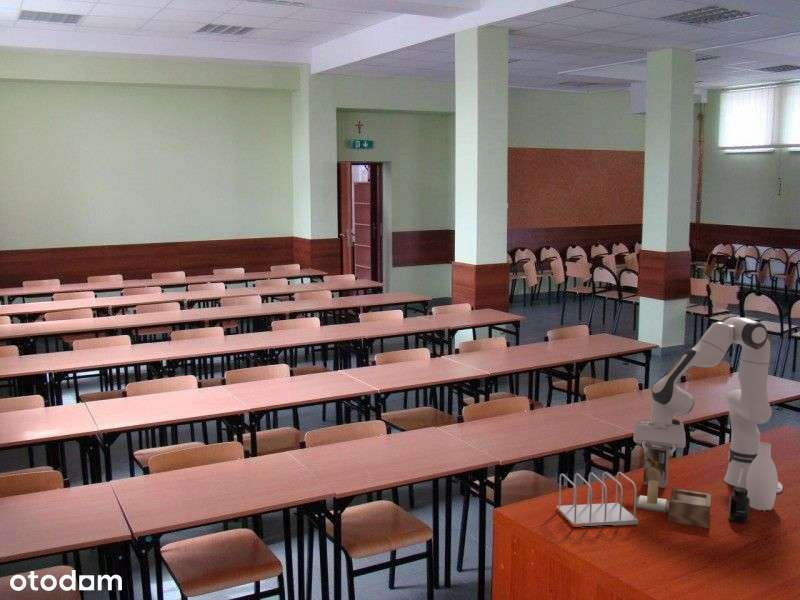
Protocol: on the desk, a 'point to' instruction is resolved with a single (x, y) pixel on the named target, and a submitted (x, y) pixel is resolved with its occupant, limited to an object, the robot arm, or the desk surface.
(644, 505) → the lid
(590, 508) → the file sorter
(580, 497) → the desk surface
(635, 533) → the desk surface
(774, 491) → the bottle
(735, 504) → the supplement bottle
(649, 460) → the coffee box
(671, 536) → the desk surface
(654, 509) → the mat
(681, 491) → the box
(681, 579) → the desk surface
